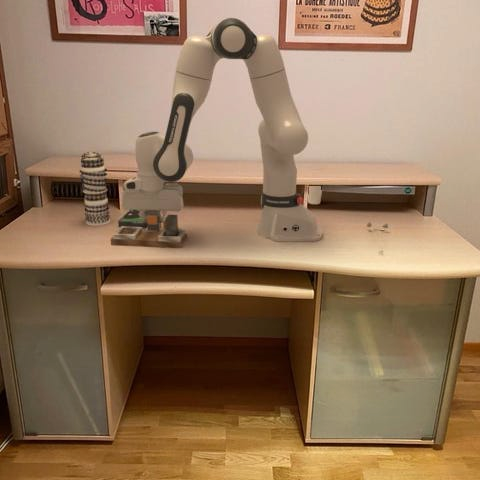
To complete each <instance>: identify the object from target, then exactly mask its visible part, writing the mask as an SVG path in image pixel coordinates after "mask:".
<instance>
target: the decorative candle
mask: <svg viewBox="0 0 480 480" xmlns="http://www.w3.org/2000/svg"><path fill="white" fill-rule="evenodd" d="M104 157H105V156H104V155H102V154H101V153H100V152H99V151H98V152H97V151H87V152H83V153H82V155H81V156H80V157H79V160H80V163H81V164H80V165H81V166H80V170H79V173H80V175H79V177H80V182H81V183H82V184H81V188H82V193H84V194H83V195H84V199H83V200H84V204H83V206H84V211H85V213H84V215H85V223H86V225H88V226H93V227H94V226H96V227H97V226H105V225H107V224H109V223H110V222H111V219H110V218H111V216H110V210H109V209H110V206H109V205H110V203H109V201H108V197H107V191H108V188H107V186H108V182H107V181H108V179H107V178H106V176H107V175H108V173H107V171H108V169H107V168H106V167H105V164H104V163H105V161H104V160H105V159H104Z"/></svg>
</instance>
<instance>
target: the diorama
mask: <svg viewBox="0 0 480 480" xmlns="http://www.w3.org/2000/svg"><path fill="white" fill-rule="evenodd" d="M366 227H368V228H369V230H370V232H371V233H374V231H376V229H375V228H374V229H373V228H371V227H372V222H370V221H369V222H367V224H366ZM388 228H389V224H388V223H385V224H383V225H382V228H379V229H378V231H380V232H384V231H385V229H388ZM384 244H386V241H385V242H384ZM381 252H382V253H383V252H384V251H383V250H381Z"/></svg>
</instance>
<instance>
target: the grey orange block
mask: <svg viewBox="0 0 480 480" xmlns="http://www.w3.org/2000/svg"><path fill="white" fill-rule="evenodd" d="M146 215H147V228H146V229H147V231H149V232H160V231H161V229H162V223H159V218H160V217H162V211H155V210H146Z"/></svg>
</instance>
